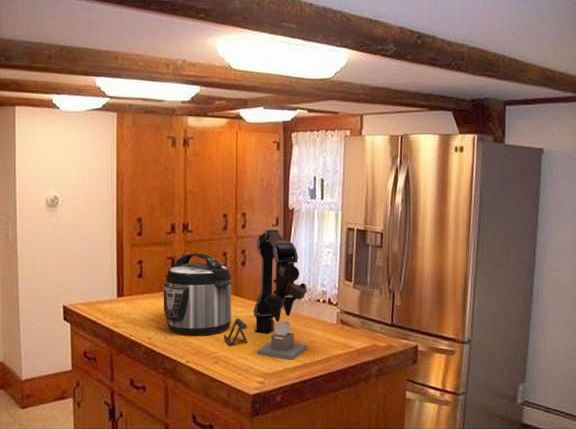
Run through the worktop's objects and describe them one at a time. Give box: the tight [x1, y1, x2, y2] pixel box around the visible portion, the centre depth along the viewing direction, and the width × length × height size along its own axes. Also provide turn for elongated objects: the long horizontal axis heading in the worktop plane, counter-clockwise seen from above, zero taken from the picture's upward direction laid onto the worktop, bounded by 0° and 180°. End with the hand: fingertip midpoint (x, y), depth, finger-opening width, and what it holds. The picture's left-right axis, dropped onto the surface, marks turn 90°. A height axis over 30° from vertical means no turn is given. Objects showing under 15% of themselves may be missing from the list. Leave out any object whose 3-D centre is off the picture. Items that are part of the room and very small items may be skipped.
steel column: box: [275, 320, 291, 337], centre depth 217 cm, size 4×4×9 cm
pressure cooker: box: [163, 252, 232, 336], centre depth 246 cm, size 30×28×32 cm
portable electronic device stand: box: [223, 318, 248, 347], centre depth 228 cm, size 9×8×8 cm
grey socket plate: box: [256, 332, 308, 361], centre depth 217 cm, size 14×14×6 cm
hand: (282, 318), depth 217 cm, fingers open, 9 cm apart
